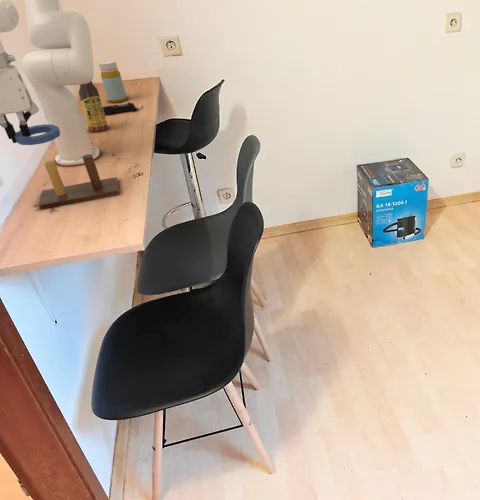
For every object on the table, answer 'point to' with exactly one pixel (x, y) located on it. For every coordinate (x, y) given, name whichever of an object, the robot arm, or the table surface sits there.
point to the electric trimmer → (119, 108)
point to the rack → (77, 186)
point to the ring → (49, 135)
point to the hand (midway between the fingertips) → (21, 139)
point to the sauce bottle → (92, 107)
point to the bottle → (112, 81)
